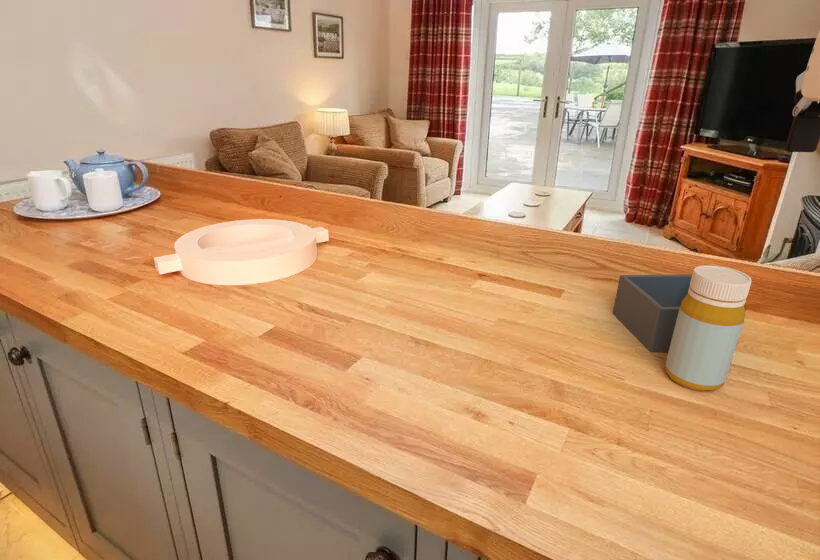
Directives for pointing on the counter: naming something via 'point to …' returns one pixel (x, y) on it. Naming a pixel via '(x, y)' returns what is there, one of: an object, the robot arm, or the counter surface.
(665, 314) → the box
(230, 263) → the peach handled dish
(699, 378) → the bottle
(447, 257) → the counter surface
